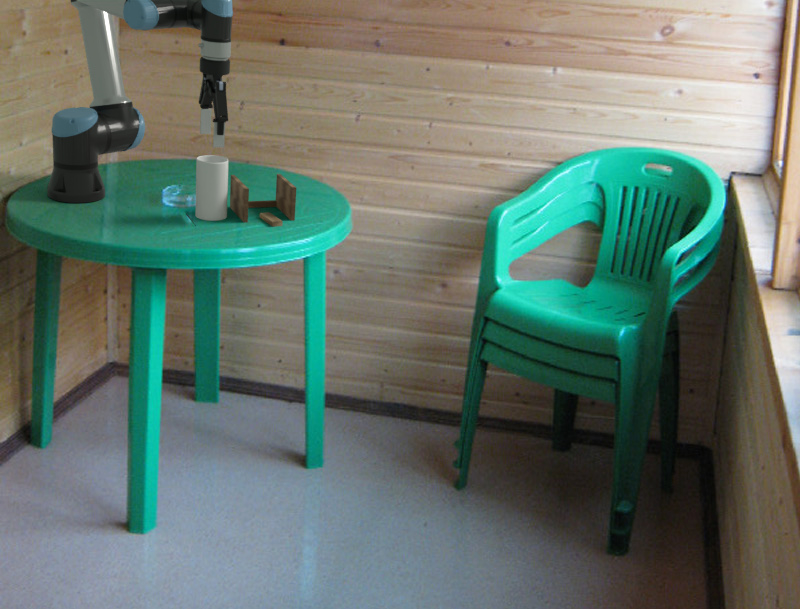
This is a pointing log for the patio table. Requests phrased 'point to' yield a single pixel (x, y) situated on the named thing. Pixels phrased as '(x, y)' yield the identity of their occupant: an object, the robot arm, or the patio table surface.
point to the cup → (211, 187)
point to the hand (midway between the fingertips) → (211, 140)
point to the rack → (283, 201)
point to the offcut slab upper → (271, 219)
